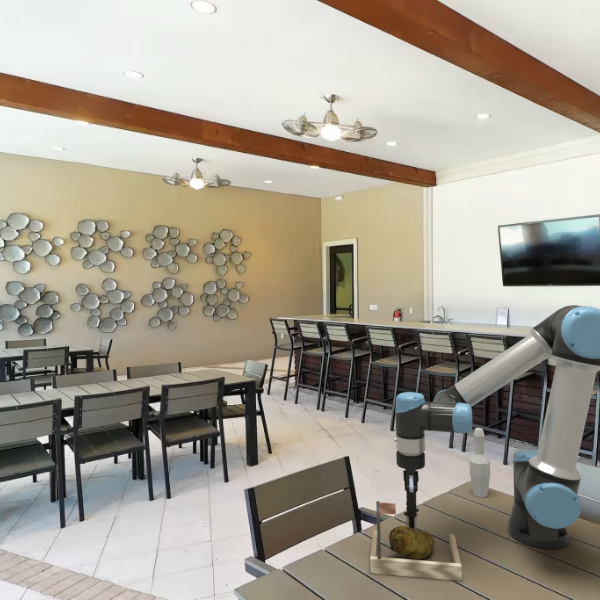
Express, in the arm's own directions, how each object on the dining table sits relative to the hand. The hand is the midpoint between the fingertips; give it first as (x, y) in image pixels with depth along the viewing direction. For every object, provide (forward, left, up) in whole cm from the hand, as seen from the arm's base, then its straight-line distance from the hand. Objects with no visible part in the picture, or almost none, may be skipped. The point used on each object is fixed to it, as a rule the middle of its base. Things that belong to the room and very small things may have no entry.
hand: (411, 537), depth 129 cm
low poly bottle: (-23, -36, -2) cm, 43 cm away
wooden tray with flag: (0, +6, -2) cm, 7 cm away
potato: (0, +5, -2) cm, 6 cm away
